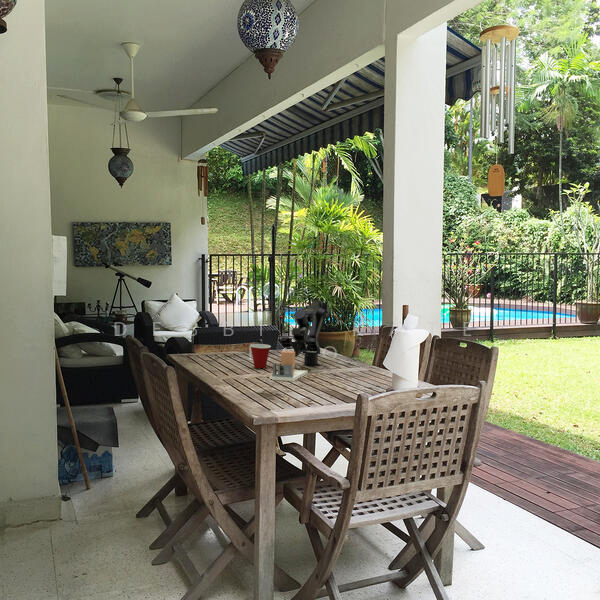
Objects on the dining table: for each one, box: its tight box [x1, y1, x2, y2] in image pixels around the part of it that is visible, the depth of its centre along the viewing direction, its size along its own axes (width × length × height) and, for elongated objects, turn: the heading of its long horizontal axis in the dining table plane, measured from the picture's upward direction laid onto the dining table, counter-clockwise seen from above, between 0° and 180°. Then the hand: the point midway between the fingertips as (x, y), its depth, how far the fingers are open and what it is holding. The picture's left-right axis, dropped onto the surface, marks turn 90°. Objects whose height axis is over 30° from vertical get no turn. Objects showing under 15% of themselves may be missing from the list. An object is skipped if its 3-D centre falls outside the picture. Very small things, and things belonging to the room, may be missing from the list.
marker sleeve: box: [280, 350, 296, 373], centre depth 307 cm, size 3×6×10 cm, turn 71°
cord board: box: [269, 369, 309, 382], centre depth 308 cm, size 20×12×2 cm, turn 161°
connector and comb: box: [271, 362, 293, 378], centre depth 302 cm, size 6×10×6 cm, turn 71°
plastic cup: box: [249, 343, 272, 369], centre depth 332 cm, size 11×11×12 cm
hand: (295, 356), depth 316 cm, fingers closed
